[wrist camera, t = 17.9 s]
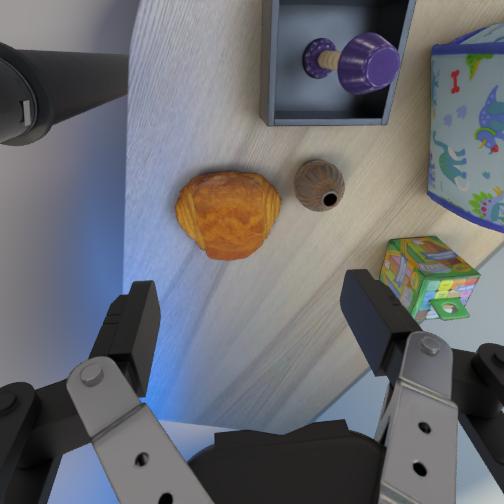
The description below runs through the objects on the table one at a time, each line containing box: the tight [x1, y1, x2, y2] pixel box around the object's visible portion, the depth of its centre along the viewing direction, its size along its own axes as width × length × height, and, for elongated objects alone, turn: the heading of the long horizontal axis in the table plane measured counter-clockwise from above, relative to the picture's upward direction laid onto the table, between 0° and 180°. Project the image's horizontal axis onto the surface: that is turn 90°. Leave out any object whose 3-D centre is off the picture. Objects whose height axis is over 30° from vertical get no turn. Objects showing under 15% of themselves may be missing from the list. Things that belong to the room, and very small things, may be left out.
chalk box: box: [379, 237, 481, 321], centre depth 51 cm, size 9×9×15 cm
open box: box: [260, 0, 416, 126], centre depth 35 cm, size 15×13×7 cm
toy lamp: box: [303, 32, 400, 95], centre depth 30 cm, size 5×5×17 cm
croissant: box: [174, 171, 282, 261], centre depth 45 cm, size 14×16×8 cm
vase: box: [294, 160, 345, 212], centre depth 43 cm, size 7×7×9 cm
